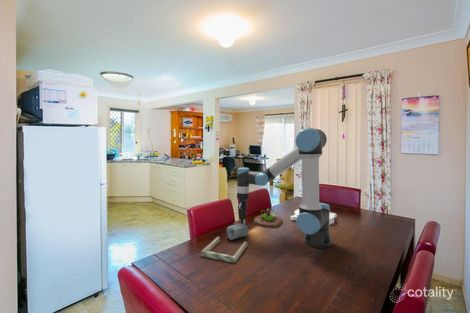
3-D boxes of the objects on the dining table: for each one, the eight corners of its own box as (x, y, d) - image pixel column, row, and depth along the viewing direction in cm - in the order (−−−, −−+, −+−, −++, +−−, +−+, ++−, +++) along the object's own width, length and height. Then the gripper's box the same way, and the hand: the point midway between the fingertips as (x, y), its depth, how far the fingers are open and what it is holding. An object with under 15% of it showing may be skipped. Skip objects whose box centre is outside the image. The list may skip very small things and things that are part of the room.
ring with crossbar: (337, 218, 186) (337, 212, 185) (329, 229, 162) (329, 222, 162) (300, 211, 201) (301, 206, 200) (288, 221, 177) (289, 215, 177)
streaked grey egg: (231, 238, 137) (231, 220, 141) (223, 240, 144) (223, 223, 149) (251, 240, 143) (251, 222, 147) (243, 242, 150) (243, 225, 155)
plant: (250, 225, 168) (250, 209, 167) (258, 217, 186) (258, 202, 185) (279, 229, 160) (279, 213, 160) (284, 220, 179) (285, 205, 178)
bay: (247, 246, 135) (247, 241, 134) (234, 262, 116) (234, 257, 116) (217, 241, 141) (217, 236, 141) (201, 256, 123) (201, 251, 122)
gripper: (240, 189, 160) (240, 225, 162) (233, 193, 148) (233, 231, 150) (251, 190, 158) (251, 226, 159) (245, 195, 145) (244, 233, 147)
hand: (242, 229), depth 155 cm, fingers closed
